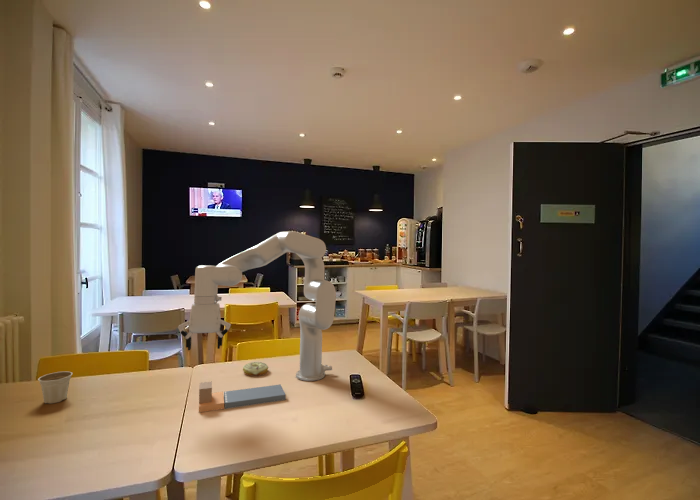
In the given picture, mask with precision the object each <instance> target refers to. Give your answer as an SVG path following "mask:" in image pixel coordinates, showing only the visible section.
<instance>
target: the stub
mask: <svg viewBox="0 0 700 500" xmlns="http://www.w3.org/2000/svg"><path fill="white" fill-rule="evenodd" d="M212 390H213V382H212V381H204V382H199V389H198V413H203V412H211V411H217V410H222V409H223V410H224V409H225V404H224V391H218V392H213V391H212Z"/></svg>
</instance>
